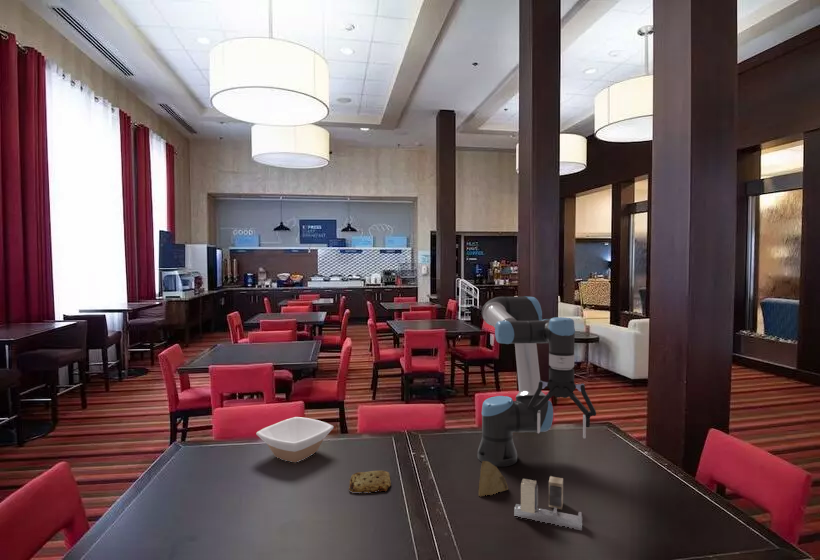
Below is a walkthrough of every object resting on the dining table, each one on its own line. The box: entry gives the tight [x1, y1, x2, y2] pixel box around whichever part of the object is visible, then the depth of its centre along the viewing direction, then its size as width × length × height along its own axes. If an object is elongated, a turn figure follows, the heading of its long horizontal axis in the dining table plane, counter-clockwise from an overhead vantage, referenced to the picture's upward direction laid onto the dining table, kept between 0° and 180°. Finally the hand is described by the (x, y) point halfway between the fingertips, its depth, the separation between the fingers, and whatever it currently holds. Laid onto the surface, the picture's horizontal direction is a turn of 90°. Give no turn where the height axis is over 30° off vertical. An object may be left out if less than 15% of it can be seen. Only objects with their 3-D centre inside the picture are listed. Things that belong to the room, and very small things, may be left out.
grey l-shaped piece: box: [513, 478, 583, 531], centre depth 135 cm, size 19×4×10 cm, turn 68°
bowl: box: [256, 416, 334, 462], centre depth 182 cm, size 24×25×11 cm
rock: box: [477, 461, 509, 498], centre depth 152 cm, size 11×9×10 cm
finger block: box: [548, 475, 564, 510], centre depth 144 cm, size 4×4×8 cm
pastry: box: [348, 470, 392, 493], centre depth 159 cm, size 17×17×3 cm
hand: (561, 434), depth 144 cm, fingers open, 13 cm apart
